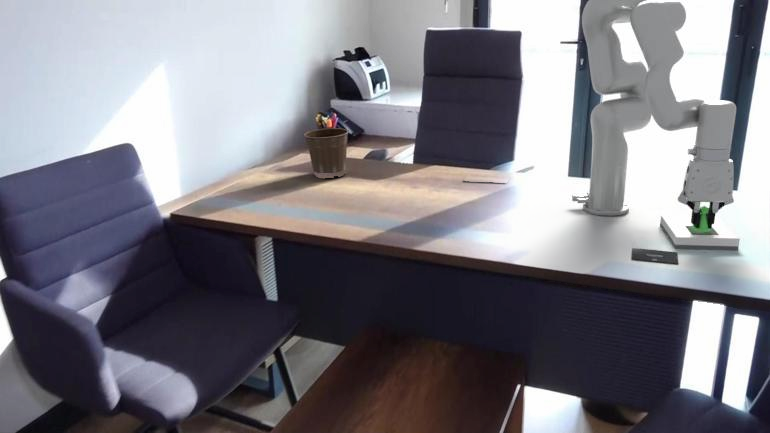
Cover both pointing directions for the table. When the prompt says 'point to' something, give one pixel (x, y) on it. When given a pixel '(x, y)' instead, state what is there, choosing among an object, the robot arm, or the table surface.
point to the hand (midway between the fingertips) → (701, 226)
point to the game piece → (703, 220)
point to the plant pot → (327, 149)
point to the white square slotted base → (698, 234)
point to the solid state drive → (655, 256)
